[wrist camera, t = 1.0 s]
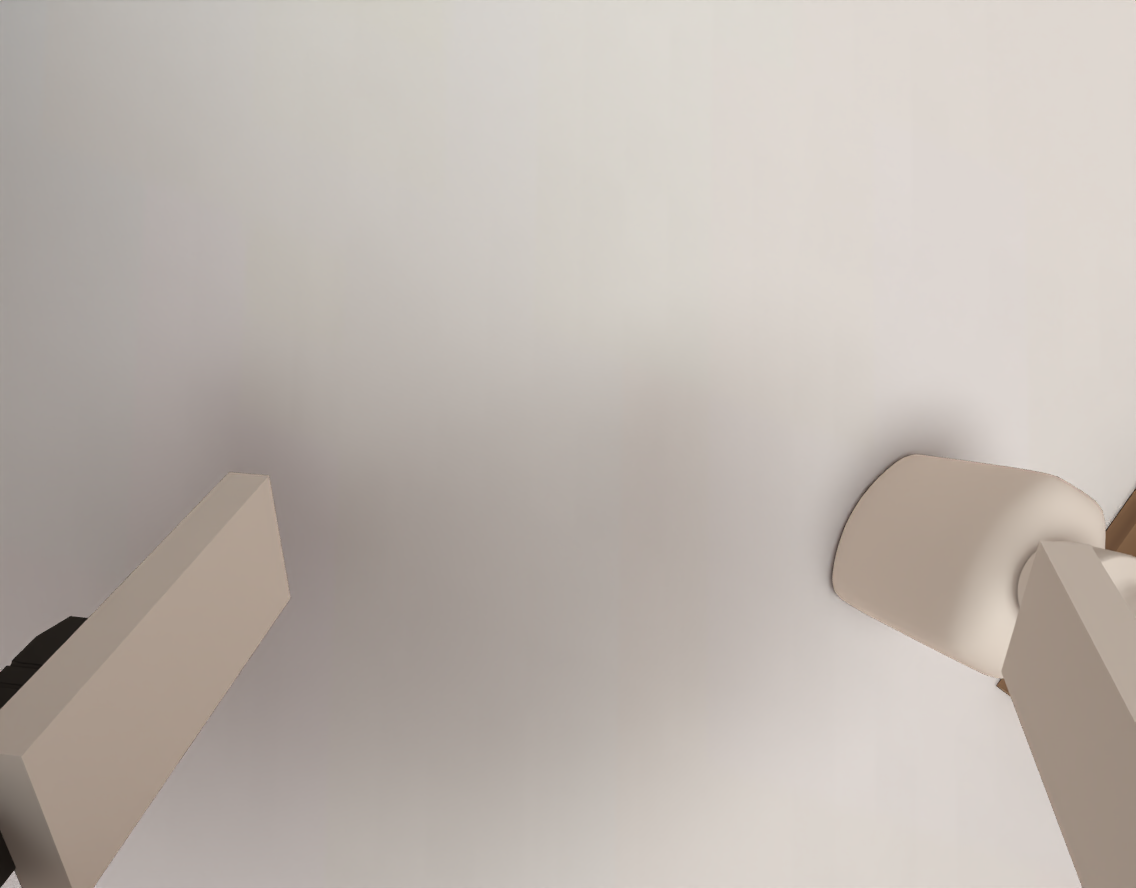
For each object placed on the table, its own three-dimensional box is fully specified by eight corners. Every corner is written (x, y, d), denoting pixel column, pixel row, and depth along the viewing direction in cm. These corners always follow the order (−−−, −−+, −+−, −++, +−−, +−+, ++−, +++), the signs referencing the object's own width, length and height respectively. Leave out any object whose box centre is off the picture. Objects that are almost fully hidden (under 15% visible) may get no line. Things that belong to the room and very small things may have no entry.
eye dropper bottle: (984, 544, 32) (1309, 635, 20) (852, 631, 32) (1106, 776, 20) (927, 437, 32) (1226, 466, 20) (792, 523, 31) (1016, 606, 19)
